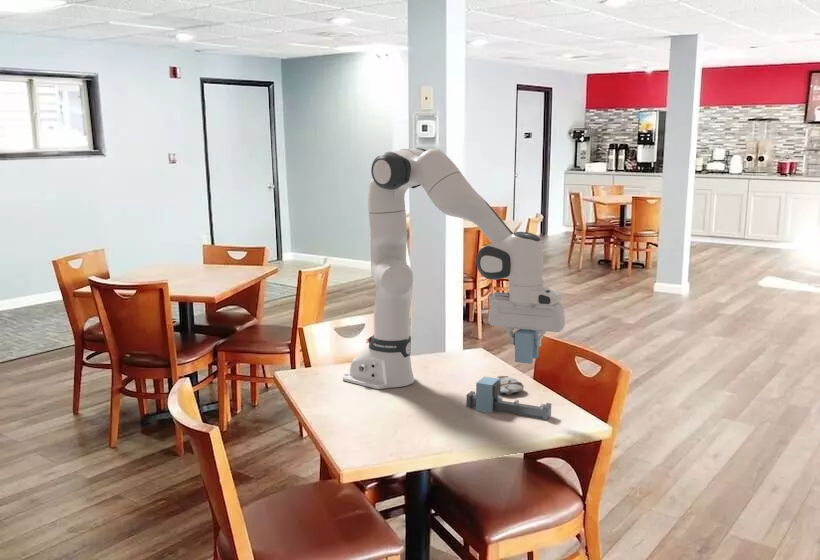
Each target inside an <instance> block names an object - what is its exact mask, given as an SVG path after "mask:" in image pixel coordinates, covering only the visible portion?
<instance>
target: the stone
mask: <svg viewBox="0 0 820 560" xmlns="http://www.w3.org/2000/svg"><path fill="white" fill-rule="evenodd" d="M496 378H498V379H499V381H501V385H500V393H499V394H506V395H507V396H510V395H512V394H513V393H518V392H521V391H522V390H524V388H525V387H524V384H523V383H522V382H520V381H518V380H517V378H513V377H509V375H498V376H497V377H496Z"/></svg>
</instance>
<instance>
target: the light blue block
mask: <svg viewBox="0 0 820 560" xmlns="http://www.w3.org/2000/svg"><path fill="white" fill-rule="evenodd" d="M513 334H514V344H513V346H514V362H515V363H519V364H520V363H521V364H528V365H529V364H530V365H531V364H533V362H534V359H538V358H539V347H537V346H534V340H535V339H538V338H539V334H538V330H529V329H517V330H516V331H515V332H513Z"/></svg>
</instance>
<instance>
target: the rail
mask: <svg viewBox="0 0 820 560" xmlns="http://www.w3.org/2000/svg"><path fill="white" fill-rule="evenodd" d="M465 404H466V406H465V407H466V408H469V409H470V408H475V409H476V391H474V390H471V391H470V392H468V393H467V394H466V403H465ZM493 412H499V413H500V412H501V413H506V414H513V415H518V416H526V417H530V418H536V417H537V419H542V418H543V419H542V421H548V420H550V418H551V417H552V403H551V402H550V403H549V402H546V403H541V404H540V405H539V406H538V405H532V404H526V403H525V404H524V403H520V400H519V399H515V400H514V401H506V400H503V397H501V396H499V398H498V400H494V399H493ZM550 416H551V417H550Z"/></svg>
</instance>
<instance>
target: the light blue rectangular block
mask: <svg viewBox="0 0 820 560" xmlns="http://www.w3.org/2000/svg"><path fill="white" fill-rule="evenodd" d="M475 383H476V386H475V387H476V389H475V393H476V408H475V411H476V412H481V413H482V412H483V413H488V414H491V413H493V412H494V411H493V399H494V400H498V398H499V397H500V394H501V393H500V385H501V381H499V379H498V378H497V377H490V376H483V377H482V378H481V379H479V380H478V381H477V382H475Z"/></svg>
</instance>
